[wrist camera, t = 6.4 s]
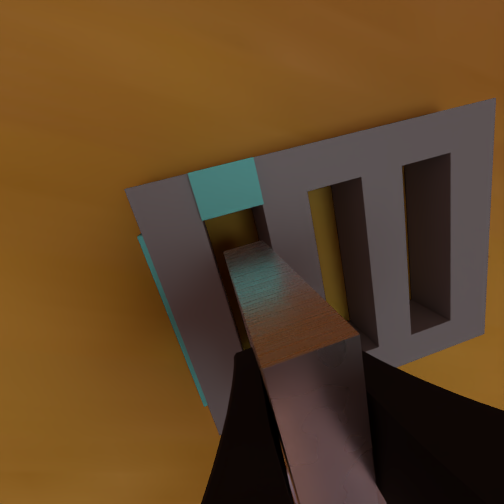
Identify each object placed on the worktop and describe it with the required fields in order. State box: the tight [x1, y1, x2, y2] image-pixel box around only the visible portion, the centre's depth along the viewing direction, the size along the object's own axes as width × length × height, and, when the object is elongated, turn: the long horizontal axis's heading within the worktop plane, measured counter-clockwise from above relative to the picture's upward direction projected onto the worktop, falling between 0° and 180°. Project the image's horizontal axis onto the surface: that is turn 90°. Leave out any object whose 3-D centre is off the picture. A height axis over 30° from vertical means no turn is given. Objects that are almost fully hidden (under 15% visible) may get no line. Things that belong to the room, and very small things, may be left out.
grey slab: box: [223, 240, 378, 504], centre depth 9 cm, size 8×2×7 cm, turn 14°
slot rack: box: [124, 98, 496, 435], centre depth 14 cm, size 14×18×3 cm
